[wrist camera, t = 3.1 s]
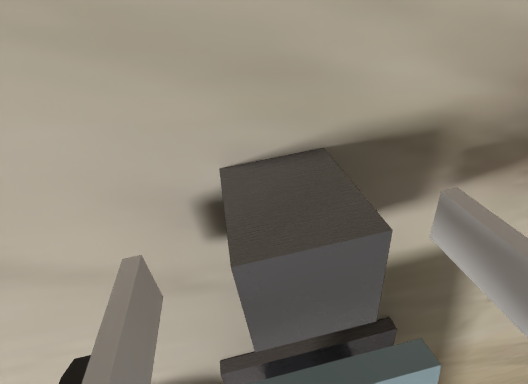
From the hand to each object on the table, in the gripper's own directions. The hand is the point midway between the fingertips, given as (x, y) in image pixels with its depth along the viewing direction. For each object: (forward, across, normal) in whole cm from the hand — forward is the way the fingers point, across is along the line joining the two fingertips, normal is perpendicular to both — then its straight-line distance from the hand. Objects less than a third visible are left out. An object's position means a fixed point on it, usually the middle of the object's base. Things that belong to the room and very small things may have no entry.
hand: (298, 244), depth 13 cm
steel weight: (+3, 0, 0) cm, 3 cm away
